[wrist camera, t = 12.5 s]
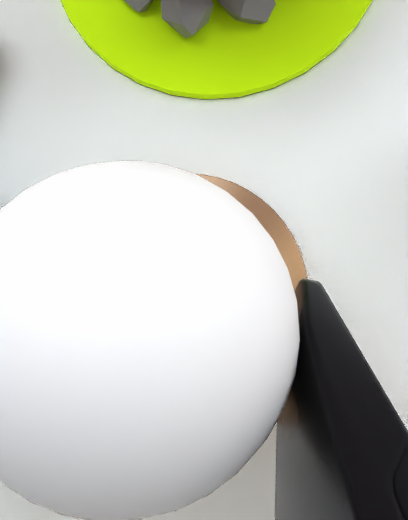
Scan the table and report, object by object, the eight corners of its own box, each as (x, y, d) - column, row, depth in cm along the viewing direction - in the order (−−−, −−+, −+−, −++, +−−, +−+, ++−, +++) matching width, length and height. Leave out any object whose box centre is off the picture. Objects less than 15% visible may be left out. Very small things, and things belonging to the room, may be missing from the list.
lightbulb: (206, 197, 15) (158, -20, 4) (286, 323, 15) (475, 469, 4) (83, 275, 15) (-289, 272, 4) (158, 402, 15) (-36, 773, 4)
